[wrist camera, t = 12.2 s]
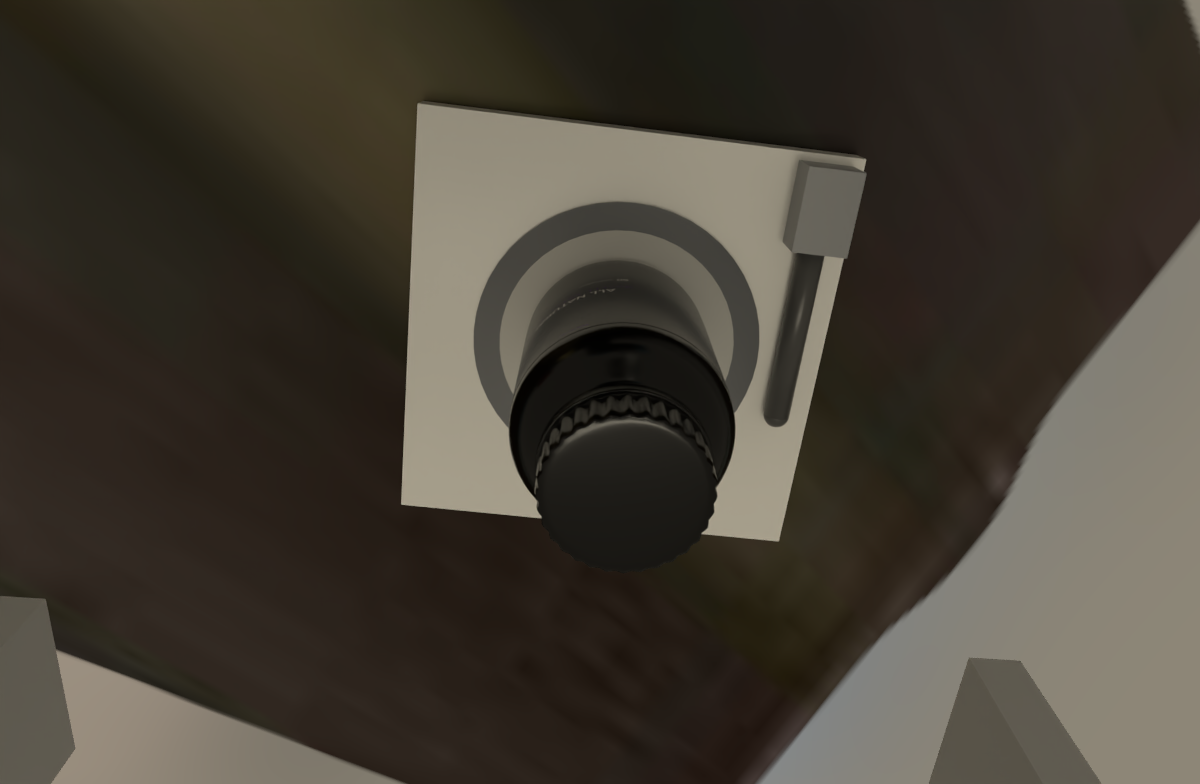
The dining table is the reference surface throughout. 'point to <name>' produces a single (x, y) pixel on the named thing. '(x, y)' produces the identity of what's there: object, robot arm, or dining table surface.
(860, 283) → the dining table surface
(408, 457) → the record player
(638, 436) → the supplement bottle
